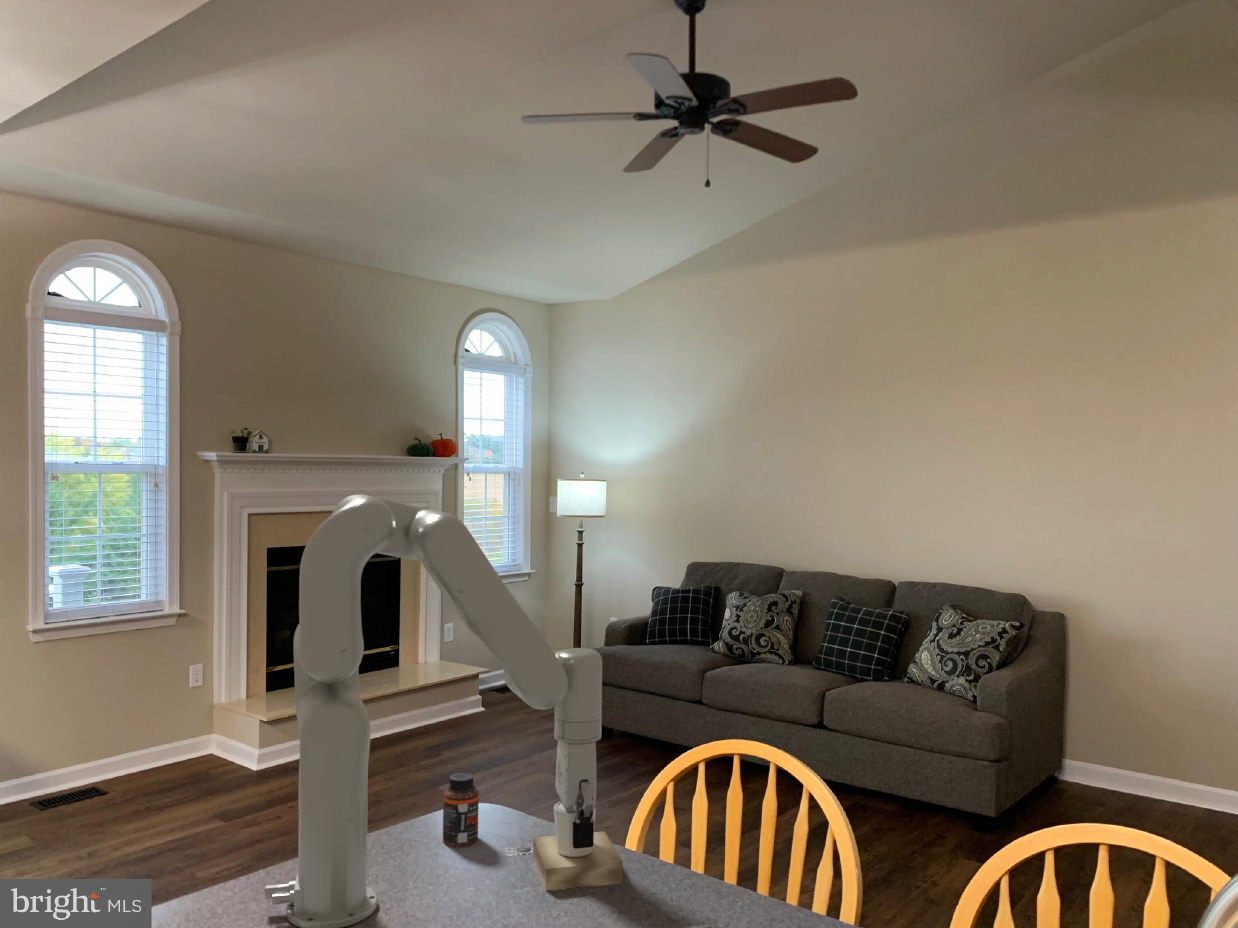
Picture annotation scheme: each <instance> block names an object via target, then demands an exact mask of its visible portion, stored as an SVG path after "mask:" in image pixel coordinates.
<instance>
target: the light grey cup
mask: <svg viewBox="0 0 1238 928" xmlns="http://www.w3.org/2000/svg"><path fill="white" fill-rule="evenodd" d="M578 801H582V800H576V802H578ZM581 809H583V807H581V808H578V810H579V813H580V811H581ZM592 809H593V817H594V827H596V826H595V825H596V824H595V823H596V813H597V812H596V811H597V804H596V802H595V803H594V804H593V806H592ZM553 818H554V829H555V836H556V843H557V851H558V853H559V854H561V855H564V856H569V857H579V856H584V855H587V854H589V853H591V852H592V847H589V848H578V849H575V848H574V847H573V822H575V817H574V809H573V805H570V807H566V806H565V805H564V804H563V802H562V801H561V800H559V801H557V802H556V803H555V804H553Z"/></svg>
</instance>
